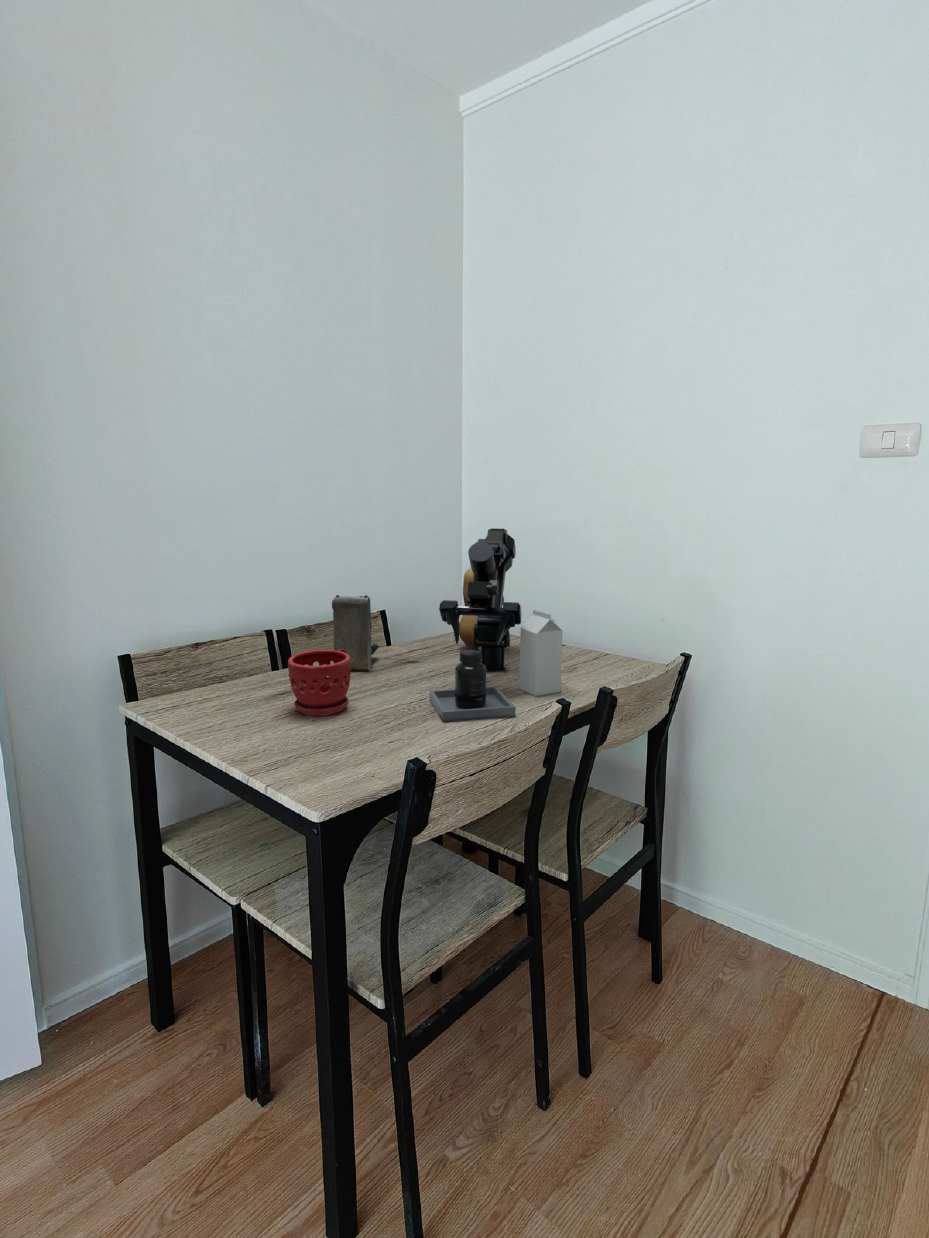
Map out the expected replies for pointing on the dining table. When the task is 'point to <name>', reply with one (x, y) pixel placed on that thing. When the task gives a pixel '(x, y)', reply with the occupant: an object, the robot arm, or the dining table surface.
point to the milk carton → (540, 655)
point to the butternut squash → (468, 620)
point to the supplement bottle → (470, 680)
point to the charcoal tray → (451, 712)
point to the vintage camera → (353, 630)
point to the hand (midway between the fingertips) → (476, 643)
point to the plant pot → (320, 681)
